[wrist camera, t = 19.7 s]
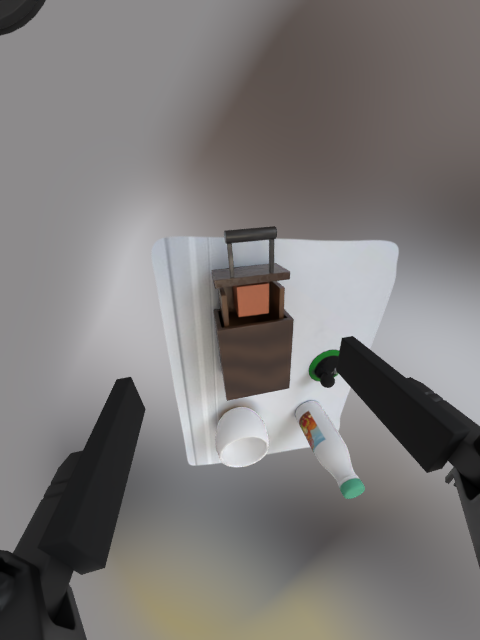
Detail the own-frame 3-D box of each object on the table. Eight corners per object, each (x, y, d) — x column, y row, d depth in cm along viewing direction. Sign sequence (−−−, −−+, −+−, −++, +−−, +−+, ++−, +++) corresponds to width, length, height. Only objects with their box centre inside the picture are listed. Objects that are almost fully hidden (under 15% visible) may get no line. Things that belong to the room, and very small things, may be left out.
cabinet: (213, 309, 39) (217, 330, 32) (276, 300, 40) (293, 319, 33) (222, 372, 46) (226, 400, 39) (275, 362, 48) (289, 388, 41)
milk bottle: (312, 395, 56) (365, 478, 38) (324, 408, 59) (378, 489, 42) (289, 411, 57) (330, 498, 39) (302, 422, 60) (346, 507, 43)
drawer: (206, 229, 32) (208, 232, 26) (276, 223, 33) (292, 225, 27) (221, 341, 41) (224, 361, 36) (274, 332, 43) (286, 350, 37)
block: (231, 278, 35) (236, 287, 30) (260, 275, 35) (269, 283, 31) (233, 305, 37) (238, 317, 33) (260, 301, 38) (268, 313, 33)
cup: (267, 400, 53) (280, 435, 45) (249, 431, 58) (258, 469, 49) (222, 395, 49) (227, 432, 41) (207, 429, 54) (209, 468, 45)
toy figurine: (343, 376, 54) (358, 393, 49) (307, 385, 53) (319, 402, 48) (348, 346, 50) (365, 360, 45) (309, 354, 49) (322, 370, 44)
